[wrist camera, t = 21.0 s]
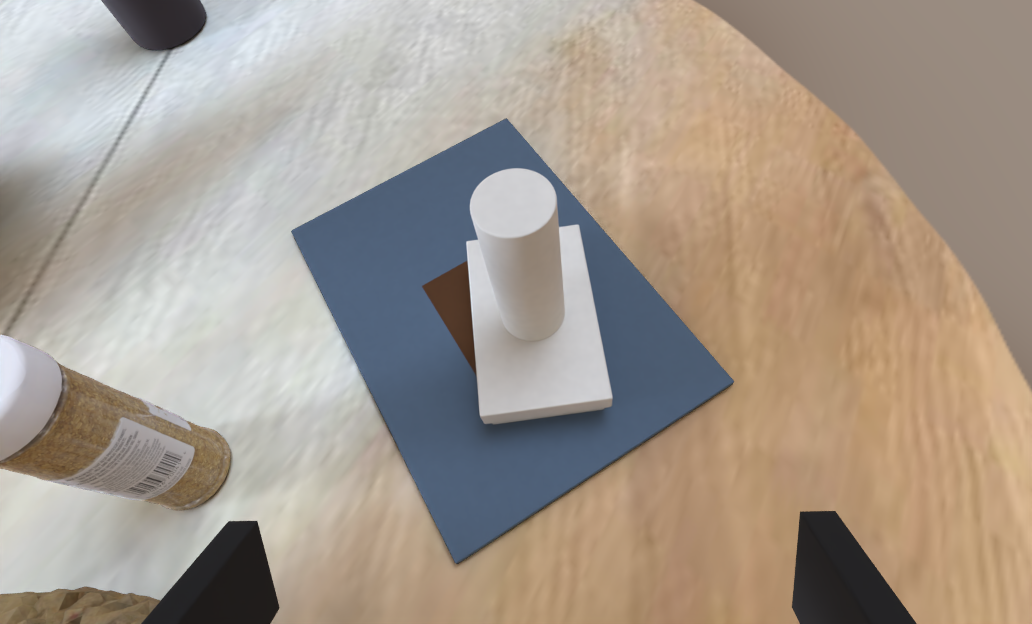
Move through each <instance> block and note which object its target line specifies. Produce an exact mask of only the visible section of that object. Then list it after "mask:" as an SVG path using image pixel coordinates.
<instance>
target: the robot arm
mask: <svg viewBox="0 0 1032 624" xmlns="http://www.w3.org/2000/svg"><path fill="white" fill-rule="evenodd" d="M792 608H793V610H794V612H795V614H796V616H797V618H798V620H799V623H800V624H916V622H915V621H914V619H913V618H912V617H911V615H910V614H909V613H908V611H907V610H906V608H905V607H904V606H903V604H902V603H901V601H900V600H899V599H898V597H897V596H896V595H895V593H894V592H893V590H892V589H891V588H890V586H889V585H888V584H887V582H886V581H885V579H884V578H883V577H882V575H881V574H880V572H879V571H878V570H877V568H876V567H875V566H874V564H873V563H872V561H871V560H870V559H869V557H868V556H867V554H866V553H865V552H864V550H863V549H862V548H861V546H860V545H859V543H858V542H857V541H856V539H855V538H854V536H853V535H852V534H851V532H850V531H849V530H848V528H847V527H846V525H845V524H844V523H843V521H842V520H841V519H840V517H839V516H838V514H837V513H836V512H835V511H814V512H800V520H799V531H798V543H797V555H796V567H795V578H794V590H793V602H792ZM278 610H279V604H278V600H277V596H276V592H275V588H274V584H273V581H272V577H271V573H270V569H269V565H268V561H267V557H266V553H265V549H264V545H263V542H262V538H261V534H260V530H259V526H258V522H257V521H228V523H227V524H226V525H225V526H224V527H223V528H222V530H221V531H220V532H219V533H218V534H217V535H216V537H215V538H214V539H213V540H212V541H211V542H210V544H209V545H208V546H207V547H206V548H205V549H204V551H203V552H202V553H201V554H200V555H199V557H198V558H197V559H196V560H195V561H194V562H193V564H192V565H191V566H190V567H189V568H188V569H187V571H186V572H185V573H184V574H183V575H182V576H181V578H180V579H179V580H178V581H177V582H176V583H175V585H174V586H173V587H172V588H171V589H170V590H169V592H168V593H167V594H166V595H165V596H164V597H163V599H162V600H161V601H160V602H159V603H158V605H157V606H156V607H155V608H154V609H153V610H152V612H151V613H150V614H149V615H148V616H147V617H146V619H145V620H144V621H143V622H142V623H141V624H270V623H271V621H272V620H273V618H274V616H275V615H276V613H277V611H278Z"/></svg>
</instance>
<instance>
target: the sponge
mask: <svg viewBox="0 0 1032 624" xmlns="http://www.w3.org/2000/svg"><path fill="white" fill-rule="evenodd" d="M159 602H160V601H159V600H157V599H154V598H151V597H148V596H138V595H135V594H133V593H129V594H121V593H117V592H114V591H103V590H98V589H95V588H90V587H82V588H79V589H76V590H67V589H57V590H55V591H52V592H45V593H34V592H25V593H15V594H0V624H141V623H142V622H143V621H144V620H145V619H146V617H147V616H148V615H149V614H150V613H151V612H152V610H153V609H154V608H155V607H156V606H157V605H158V603H159Z"/></svg>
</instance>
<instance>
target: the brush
mask: <svg viewBox="0 0 1032 624" xmlns="http://www.w3.org/2000/svg"><path fill="white" fill-rule="evenodd" d="M470 214H471V217H472V220H473V224H474V227H475V231H476V234H477V237H478V240H473V241H467V243H466V245H467V258H468V271H469V283H470V296H471V309H472V322H473V335H474V348H475V361H476V374H477V387H478V399H479V412H480V417H481V419H482V421H483V422H484V424H490V423H492V424H493V425H494V424H501V423H509V422H516V421H523V420H531V419H538V418H545V417H553V416H560V415H567V414H575V413H582V412H589V411H596V410H604V408H607V407H611V406H612V399H613V396H612V391H611V386H610V381H609V376H608V371H607V365H606V360H605V355H604V350H603V345H602V340H601V335H600V330H599V325H598V319H597V314H596V309H595V304H594V299H593V294H592V289H591V284H590V279H589V274H588V268H587V263H586V258H585V253H584V248H583V243H582V238H581V233H580V228H579V225H578V224H577V225H571V226H564V227H559V222H558V208H557V196H556V192H555V190H554V187H553V186H552V184H551V183H550V182H549V181H548V180H547V179H546V178H545V177H544V176H542V175H541V174H539V173H537V172H535V171H532V170H528V169H521V168H513V169H506V170H502V171H499V172H496V173H494V174H492V175H490V176H488V177H487V178H486V179H484V180H483V181H482V182H481V183H480V184H479V185H478V186H477V188H476V189H475V191H474V192H473V195H472V197H471V200H470Z"/></svg>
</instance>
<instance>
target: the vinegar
mask: <svg viewBox="0 0 1032 624" xmlns="http://www.w3.org/2000/svg"><path fill="white" fill-rule="evenodd" d="M101 1H102V2H103V3H104V4H105V6H106V7H107V8H108V9H109V11H110V12H111V13H112V14H113V16H114V17H115V18H116V19H117V21H118V22H119V23H120V24H121V26H122V27H123V28H124V29H125V31H126V32H127V33H128V34H129V36H130V37H131V38H132V39H133V41H135V42H136V43H137V44H138V45H139V46H141V47H143V48H146V49H150V50H164V49H169V48H173V47H175V46H178V45H180V44H183V43H184V42H186V41H188V40H189V39H191V38H192V37H193V36H195V35H196V34H197V33H198V32H199V31H200V29H201V28H202V26H203V24H204V22H205V18H206V12H205V9H204V7H203V5H202V3H201V1H200V0H101Z"/></svg>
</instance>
